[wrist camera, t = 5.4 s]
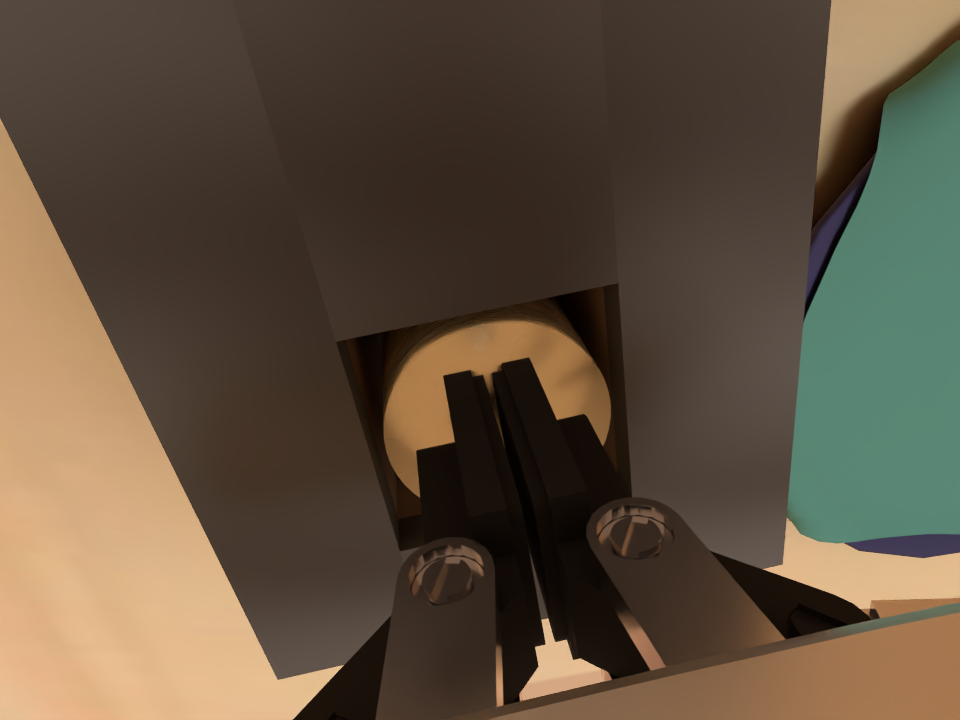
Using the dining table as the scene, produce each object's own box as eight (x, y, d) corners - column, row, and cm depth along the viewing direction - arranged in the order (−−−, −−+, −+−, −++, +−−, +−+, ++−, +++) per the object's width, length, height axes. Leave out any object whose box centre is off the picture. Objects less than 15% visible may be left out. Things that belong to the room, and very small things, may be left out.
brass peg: (364, 232, 18) (357, 352, 11) (525, 200, 18) (602, 301, 12) (400, 373, 20) (410, 537, 14) (543, 343, 20) (617, 491, 14)
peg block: (-55, -531, 11) (-745, -1391, 4) (619, -632, 12) (963, -1542, 5) (309, 466, 22) (277, 679, 15) (656, 391, 23) (782, 564, 16)
